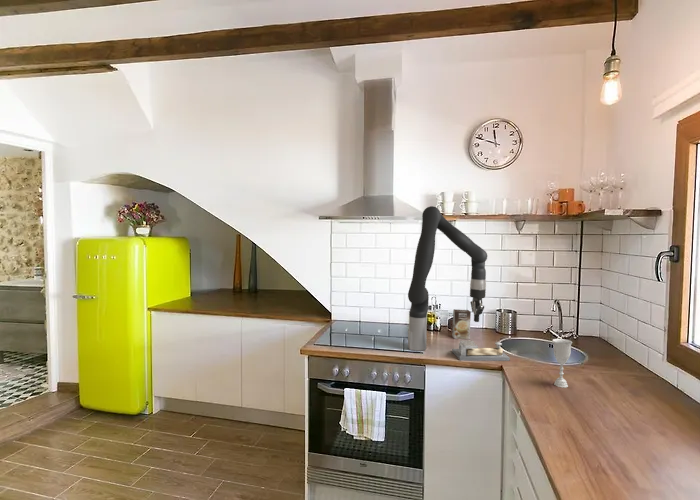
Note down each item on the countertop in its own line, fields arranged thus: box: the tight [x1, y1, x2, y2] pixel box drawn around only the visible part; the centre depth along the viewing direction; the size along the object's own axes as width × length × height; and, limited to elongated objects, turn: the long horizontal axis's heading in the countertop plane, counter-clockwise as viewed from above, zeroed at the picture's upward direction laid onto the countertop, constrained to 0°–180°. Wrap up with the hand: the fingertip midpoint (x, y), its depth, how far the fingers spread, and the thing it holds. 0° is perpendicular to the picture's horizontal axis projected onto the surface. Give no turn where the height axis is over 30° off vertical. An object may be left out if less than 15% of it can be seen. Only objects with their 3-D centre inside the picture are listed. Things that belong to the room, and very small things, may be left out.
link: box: [466, 347, 504, 355], centre depth 190 cm, size 18×4×2 cm, turn 94°
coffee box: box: [451, 309, 472, 340], centre depth 227 cm, size 9×6×16 cm
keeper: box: [458, 339, 479, 356], centre depth 191 cm, size 7×9×7 cm
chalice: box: [552, 338, 573, 388], centre depth 157 cm, size 7×7×18 cm
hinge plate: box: [451, 341, 511, 362], centre depth 194 cm, size 24×14×7 cm, turn 91°
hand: (476, 321), depth 198 cm, fingers closed
